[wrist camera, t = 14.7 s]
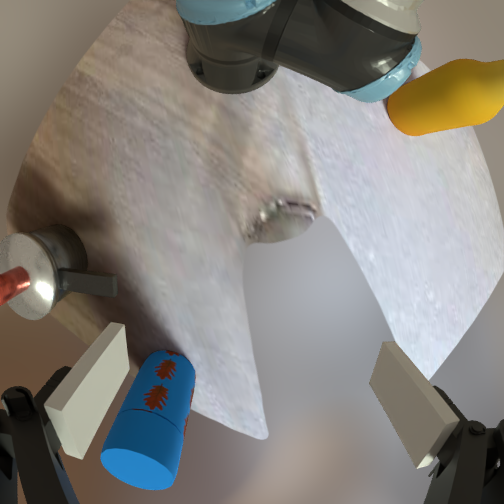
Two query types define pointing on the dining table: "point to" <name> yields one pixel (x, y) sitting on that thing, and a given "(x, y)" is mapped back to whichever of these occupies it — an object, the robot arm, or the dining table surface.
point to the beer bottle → (449, 97)
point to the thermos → (152, 423)
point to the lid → (27, 276)
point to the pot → (73, 264)
